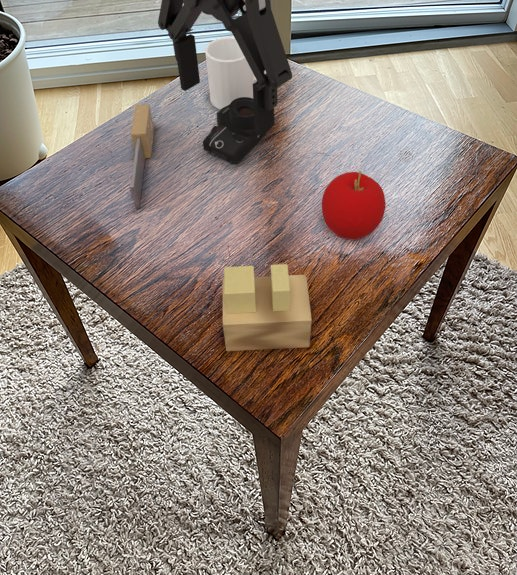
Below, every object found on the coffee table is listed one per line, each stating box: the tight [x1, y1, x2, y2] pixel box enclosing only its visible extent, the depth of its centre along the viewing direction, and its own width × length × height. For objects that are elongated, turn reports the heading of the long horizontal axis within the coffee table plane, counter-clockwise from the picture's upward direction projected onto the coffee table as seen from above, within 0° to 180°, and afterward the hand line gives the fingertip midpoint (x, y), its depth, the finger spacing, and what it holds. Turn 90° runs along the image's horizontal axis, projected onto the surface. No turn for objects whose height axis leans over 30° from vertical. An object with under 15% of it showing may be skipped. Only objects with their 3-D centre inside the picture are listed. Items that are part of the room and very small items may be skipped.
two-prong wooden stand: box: [222, 274, 313, 352], centre depth 72 cm, size 10×7×6 cm, turn 92°
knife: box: [129, 103, 155, 210], centre depth 92 cm, size 20×2×5 cm, turn 2°
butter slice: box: [270, 263, 290, 311], centre depth 68 cm, size 2×4×4 cm, turn 2°
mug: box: [204, 36, 266, 111], centre depth 102 cm, size 8×12×10 cm
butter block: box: [223, 265, 256, 314], centre depth 68 cm, size 4×4×4 cm
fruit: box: [321, 170, 386, 240], centre depth 81 cm, size 9×9×10 cm
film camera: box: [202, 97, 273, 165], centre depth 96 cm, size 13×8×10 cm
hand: (226, 106), depth 73 cm, fingers open, 13 cm apart
